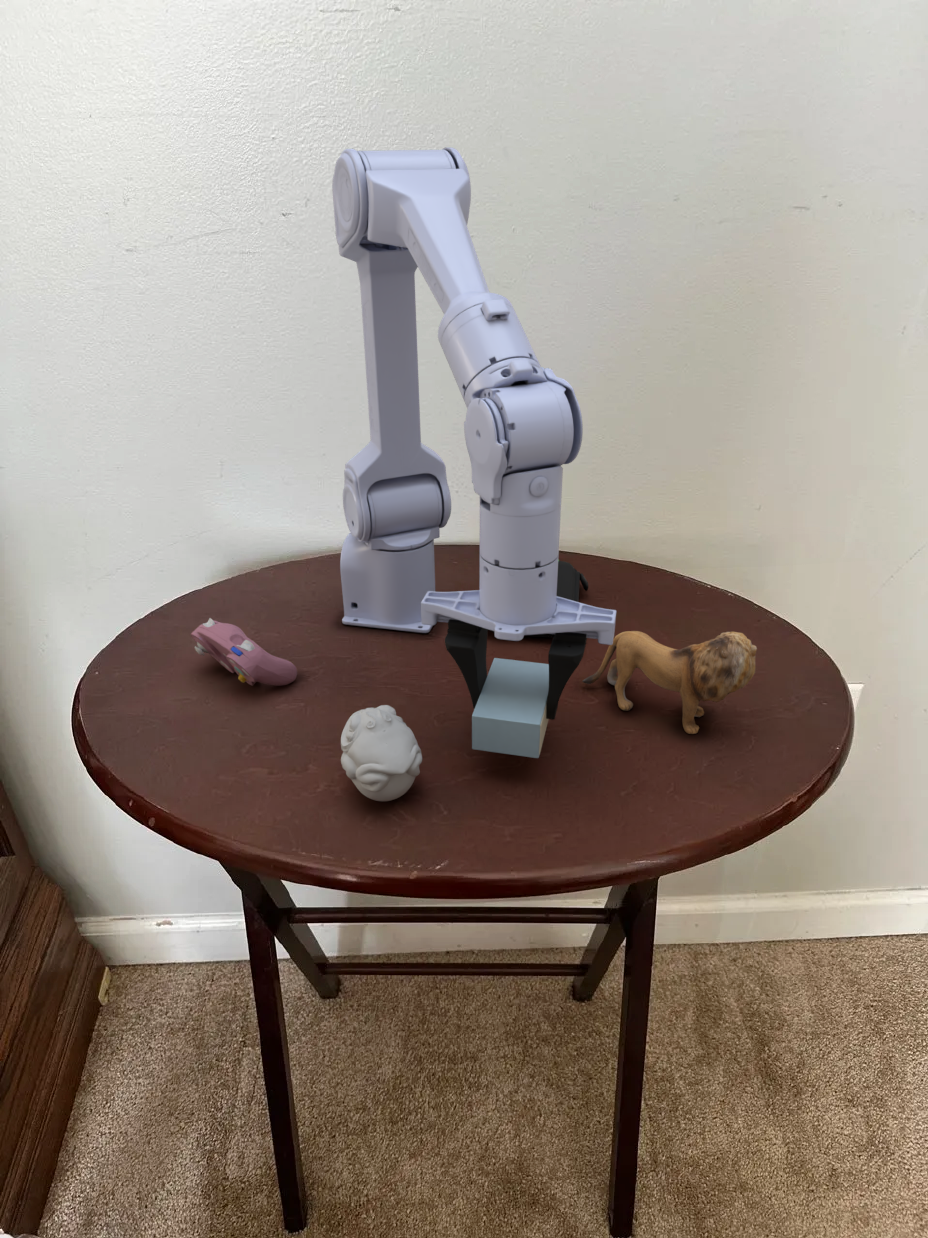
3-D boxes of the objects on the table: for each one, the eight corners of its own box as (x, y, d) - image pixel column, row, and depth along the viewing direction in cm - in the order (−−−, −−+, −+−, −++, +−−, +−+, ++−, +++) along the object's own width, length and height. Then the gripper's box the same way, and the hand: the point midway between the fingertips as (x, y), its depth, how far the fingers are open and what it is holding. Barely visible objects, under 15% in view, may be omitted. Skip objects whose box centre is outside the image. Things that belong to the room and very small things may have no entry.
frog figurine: (396, 754, 70) (392, 683, 67) (440, 802, 65) (438, 727, 61) (329, 780, 67) (321, 708, 64) (369, 833, 62) (363, 756, 59)
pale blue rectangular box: (471, 749, 66) (471, 715, 64) (493, 689, 73) (494, 657, 71) (539, 759, 65) (540, 724, 63) (554, 696, 72) (556, 664, 70)
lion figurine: (750, 716, 74) (767, 626, 70) (736, 749, 70) (753, 656, 66) (591, 673, 80) (598, 588, 76) (570, 702, 76) (575, 614, 72)
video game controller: (212, 673, 84) (172, 630, 79) (244, 639, 86) (207, 595, 81) (272, 712, 78) (233, 668, 73) (305, 675, 80) (269, 629, 75)
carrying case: (586, 646, 85) (587, 581, 97) (588, 620, 83) (589, 556, 96) (480, 640, 86) (495, 576, 99) (480, 613, 85) (495, 552, 97)
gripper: (406, 566, 59) (413, 724, 66) (616, 587, 56) (601, 750, 63) (432, 527, 65) (437, 676, 72) (623, 544, 62) (609, 697, 69)
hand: (515, 707), depth 68 cm, fingers closed on pale blue rectangular box, 5 cm apart
